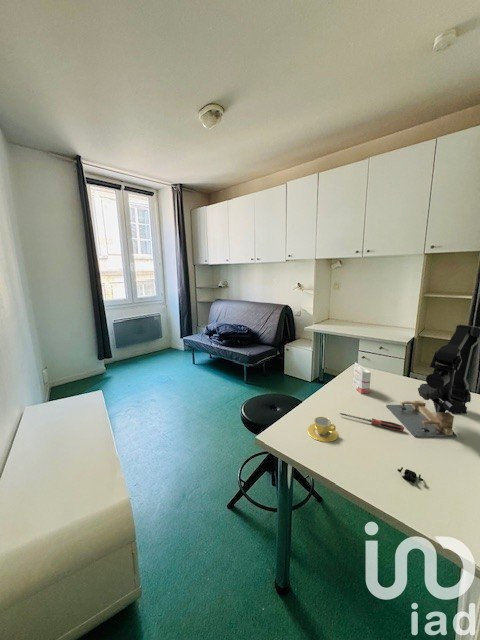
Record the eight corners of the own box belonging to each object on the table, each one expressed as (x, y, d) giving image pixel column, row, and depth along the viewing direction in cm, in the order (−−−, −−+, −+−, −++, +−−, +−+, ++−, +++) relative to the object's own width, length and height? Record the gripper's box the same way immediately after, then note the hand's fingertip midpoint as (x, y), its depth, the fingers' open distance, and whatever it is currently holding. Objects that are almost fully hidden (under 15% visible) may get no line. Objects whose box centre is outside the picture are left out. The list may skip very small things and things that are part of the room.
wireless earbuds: (424, 475, 82) (423, 480, 78) (423, 483, 82) (422, 488, 78) (398, 464, 86) (396, 469, 83) (397, 472, 86) (395, 477, 82)
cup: (305, 439, 103) (306, 427, 101) (309, 421, 114) (309, 410, 112) (337, 445, 98) (338, 433, 97) (338, 427, 109) (338, 415, 108)
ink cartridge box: (369, 393, 136) (372, 367, 132) (361, 393, 135) (362, 367, 132) (360, 385, 144) (362, 361, 141) (352, 386, 143) (353, 361, 140)
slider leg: (446, 426, 105) (448, 412, 103) (451, 431, 102) (454, 416, 100) (419, 426, 105) (421, 412, 104) (424, 431, 102) (426, 416, 101)
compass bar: (419, 404, 121) (420, 398, 121) (455, 434, 100) (456, 427, 99) (396, 404, 122) (397, 398, 121) (427, 434, 101) (428, 427, 100)
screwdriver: (338, 418, 115) (339, 412, 115) (339, 414, 118) (340, 408, 117) (403, 434, 103) (404, 427, 103) (403, 430, 106) (404, 423, 105)
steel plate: (420, 406, 122) (421, 404, 121) (456, 437, 100) (457, 434, 100) (386, 406, 123) (386, 404, 122) (414, 437, 101) (414, 434, 101)
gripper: (409, 371, 112) (405, 403, 115) (439, 392, 94) (433, 430, 97) (435, 371, 111) (431, 403, 115) (471, 392, 93) (464, 430, 96)
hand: (438, 415), depth 106 cm, fingers closed
